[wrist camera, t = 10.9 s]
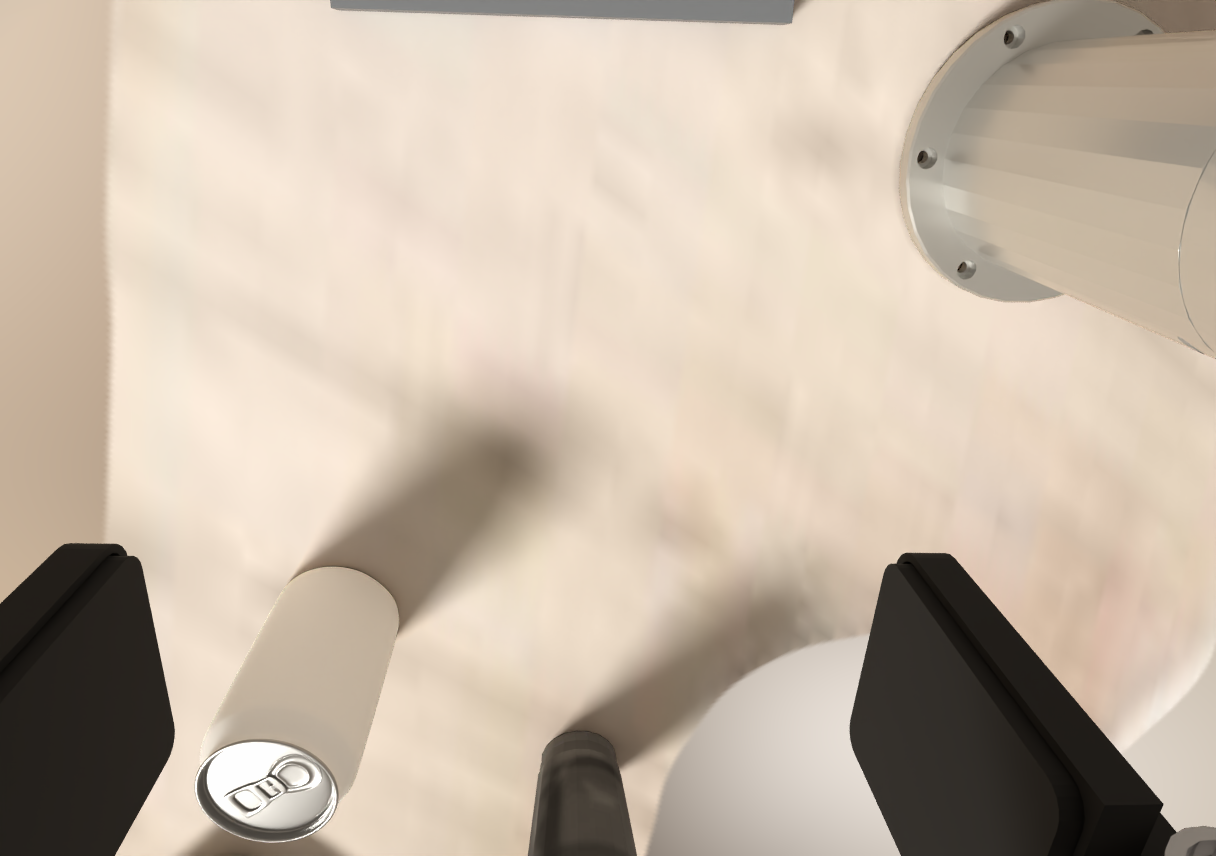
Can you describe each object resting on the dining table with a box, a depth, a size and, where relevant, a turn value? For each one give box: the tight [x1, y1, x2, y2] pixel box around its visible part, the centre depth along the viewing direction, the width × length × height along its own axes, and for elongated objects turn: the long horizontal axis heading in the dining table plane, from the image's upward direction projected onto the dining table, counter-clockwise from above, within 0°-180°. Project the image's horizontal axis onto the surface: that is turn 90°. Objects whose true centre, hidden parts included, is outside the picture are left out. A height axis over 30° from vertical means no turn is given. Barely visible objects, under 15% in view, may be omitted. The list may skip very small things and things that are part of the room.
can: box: [195, 567, 399, 843], centre depth 38 cm, size 6×6×12 cm
